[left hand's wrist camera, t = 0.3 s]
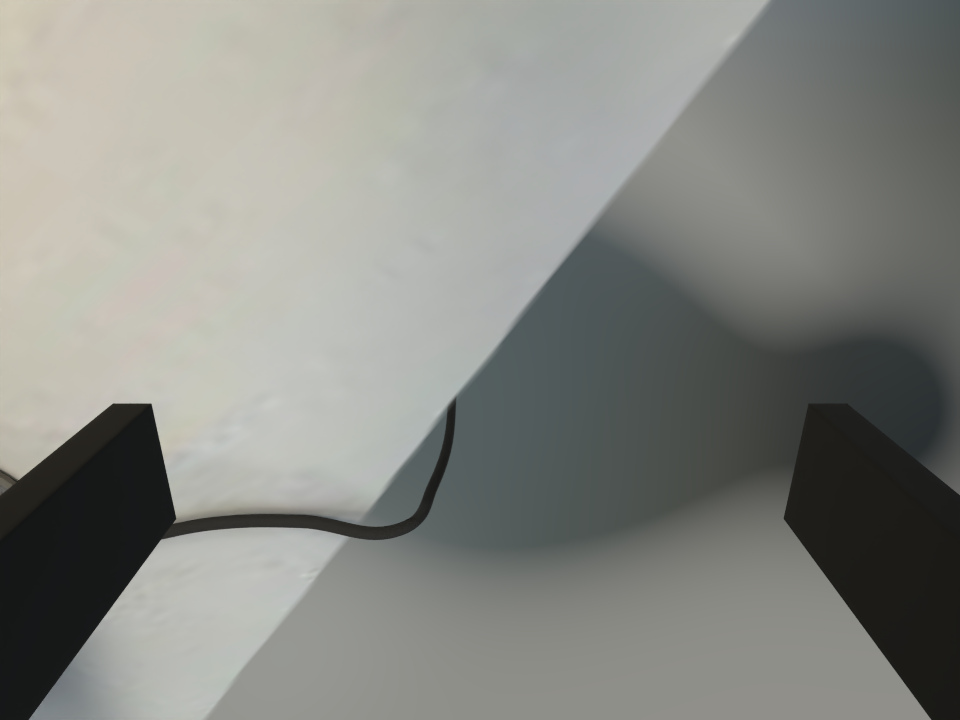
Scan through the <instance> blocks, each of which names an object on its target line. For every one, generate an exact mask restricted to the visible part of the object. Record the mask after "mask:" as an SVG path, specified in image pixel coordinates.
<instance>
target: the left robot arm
mask: <svg viewBox="0 0 960 720" xmlns="http://www.w3.org/2000/svg"><path fill="white" fill-rule="evenodd" d="M175 520H176V515H175V511H174V506H173V501H172V497H171V492H170V487H169V483H168V478H167V474H166V469H165V464H164V460H163V455H162V450H161V446H160V441H159V437H158V432H157V427H156V423H155V418H154V414H153V409H152V404H112V405H111V406H110V407H108V408H107V409H106V410H105V411H103V412H102V413H101V414H100V415H98V416H97V417H96V418H95V419H94V420H92V421H91V422H90V423H89V424H87V425H86V426H85V427H84V428H82V429H81V430H80V431H79V432H78V433H76V434H75V435H74V436H73V437H71V438H70V439H69V440H68V441H66V442H65V443H64V444H63V445H62V446H60V447H59V448H58V449H57V450H55V451H54V452H53V453H52V454H50V455H49V456H48V457H47V458H46V459H44V460H43V461H42V462H41V463H39V464H38V465H37V466H36V467H35V468H33V469H32V470H31V471H30V472H28V473H27V474H26V475H25V476H23V477H22V478H21V479H20V480H19V481H17V482H16V483H15V484H14V485H12V486H11V487H10V488H9V489H7V490H6V491H5V492H4V493H3V494H1V495H0V720H29V718H30V717H31V716H32V714H33V713H34V712H35V710H36V709H37V708H38V706H39V705H40V703H41V702H42V701H43V699H44V698H45V697H46V695H47V694H48V693H49V691H50V690H51V688H52V687H53V686H54V684H55V683H56V682H57V680H58V679H59V678H60V676H61V675H62V674H63V672H64V671H65V669H66V668H67V667H68V665H69V664H70V663H71V661H72V660H73V659H74V657H75V656H76V654H77V653H78V652H79V650H80V649H81V648H82V646H83V645H84V644H85V642H86V641H87V639H88V638H89V637H90V635H91V634H92V633H93V631H94V630H95V629H96V627H97V626H98V625H99V623H100V622H101V620H102V619H103V618H104V616H105V615H106V614H107V612H108V611H109V610H110V608H111V607H112V605H113V604H114V603H115V601H116V600H117V599H118V597H119V596H120V595H121V593H122V592H123V590H124V589H125V588H126V586H127V585H128V584H129V582H130V581H131V580H132V578H133V577H134V576H135V574H136V573H137V571H138V570H139V569H140V567H141V566H142V565H143V563H144V562H145V561H146V559H147V558H148V556H149V555H150V554H151V552H152V551H153V550H154V548H155V547H156V546H157V544H158V543H159V541H160V540H161V539H162V537H163V536H164V535H165V533H166V532H167V531H168V529H169V528H170V527H171V525H172V524H173V522H174V521H175ZM784 520H785V521H786V522H787V524H788V525H789V526H790V528H791V529H792V530H793V532H794V533H795V535H796V536H797V537H798V539H799V540H800V541H801V543H802V544H803V546H804V547H805V548H806V550H807V551H808V552H809V554H810V555H811V556H812V558H813V559H814V561H815V562H816V563H817V565H818V566H819V567H820V569H821V570H822V571H823V573H824V574H825V575H826V577H827V578H828V580H829V581H830V582H831V584H832V585H833V586H834V588H835V589H836V590H837V592H838V593H839V595H840V596H841V597H842V598H843V600H844V601H845V603H846V604H847V605H848V607H849V608H850V610H851V611H852V612H853V614H854V615H855V616H856V618H857V619H858V620H859V622H860V623H861V624H862V626H863V627H864V629H865V630H866V631H867V633H868V634H869V635H870V637H871V638H872V639H873V641H874V642H875V644H876V645H877V646H878V648H879V649H880V650H881V652H882V653H883V654H884V656H885V657H886V658H887V660H888V661H889V663H890V664H891V665H892V667H893V668H894V669H895V671H896V672H897V673H898V675H899V676H900V677H901V679H902V680H903V682H904V683H905V684H906V686H907V687H908V688H909V690H910V691H911V692H912V694H913V695H914V697H915V698H916V699H917V701H918V702H919V703H920V705H921V706H922V708H923V709H924V710H925V712H926V713H927V714H928V716H929V717H930V718H931V720H960V495H959V494H957V493H956V492H955V491H954V490H953V489H951V488H950V487H949V486H948V485H946V484H945V483H944V482H943V481H941V480H940V479H939V478H938V477H937V476H935V475H934V474H933V473H932V472H930V471H929V470H928V469H927V468H925V467H924V466H923V465H922V464H921V463H919V462H918V461H917V460H916V459H914V458H913V457H912V456H911V455H909V454H908V453H907V452H906V451H905V450H903V449H902V448H901V447H900V446H898V445H897V444H896V443H895V442H893V441H892V440H891V439H890V438H889V437H887V436H886V435H885V434H884V433H882V432H881V431H880V430H879V429H878V428H876V427H875V426H874V425H873V424H871V423H870V422H869V421H868V420H866V419H865V418H864V417H863V416H862V415H860V414H859V413H858V412H857V411H855V410H854V409H853V408H852V407H850V406H849V405H848V404H808V409H807V414H806V418H805V423H804V428H803V432H802V437H801V441H800V446H799V451H798V455H797V460H796V464H795V469H794V474H793V478H792V483H791V487H790V492H789V497H788V501H787V506H786V511H785V515H784Z"/></svg>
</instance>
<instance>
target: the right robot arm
mask: <svg viewBox="0 0 960 720" xmlns="http://www.w3.org/2000/svg"><path fill="white" fill-rule="evenodd" d="M456 397H457V395H456V396H455V397H454V398H453V400H452V401H451V402H450V403H449V404H448V407H447V420H446V429H445V435H444V441H443V445H442V449H441V452H440V455H439V459H438V461H437V464H436V467H435V469H434V472H433V474H432V476H431V478H430V480H429V483H428V485H427V487H426V489H425V492H424V495H423V498H422V501H421V503H420V505H419V508H418V509H417V511H416V512H415V514H414V515H413V516H412V517H410V518H409V519H407V520H405V521H403V522H400V523H398V524H394V525H390V526H384V527H368V526H360V525H355V524H351V523H346V522H342V521H338V520H333V519H329V518H323V517H317V516H308V515H277V514H256V515H234V516H221V517H211V518H204V519H197V520H191V521H186V522H181V523H176V524H172V525H171V527H170V528H169V529H168V531H167V532H166V533H165V535H164V536H163V537H162V539H165V538H170V537H175V536H179V535H184V534H189V533H195V532H201V531H209V530H218V529H230V528H248V527H287V528H309V529H317V530H322V531H327V532H332V533H336V534H340V535H345V536H349V537H354V538H359V539H368V540H383V539H390V538H394V537H398V536H401V535H404V534H406V533H408V532H410V531H412V530H414V529H415V528H416V527H418V526H419V525H420V524H421V523H422V522H423V521H424V520H425V519H426V517H427V515H428V514H429V512H430V509H431V507H432V504H433V501H434V498H435V495H436V492H437V489H438V487H439V485H440V483H441V480H442V478H443V475H444V473H445V470H446V467H447V464H448V461H449V457H450V454H451V449H452V444H453V438H454V430H455V417H456ZM15 483H16V481H14V480H13V479H11V478H10V477H8V476H7V475H5V474H3V473H2V472H0V495H1V494H3V493H4V492H5V491H6V490H7V489H9V488H10V487H11V486H12V485H14V484H15Z"/></svg>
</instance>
